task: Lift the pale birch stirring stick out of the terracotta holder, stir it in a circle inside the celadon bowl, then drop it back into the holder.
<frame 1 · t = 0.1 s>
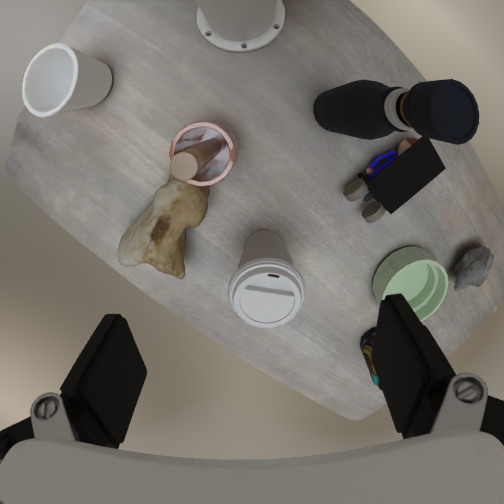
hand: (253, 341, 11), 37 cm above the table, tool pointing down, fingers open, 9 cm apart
stone: (178, 222, 48), on the table
figurine character: (383, 171, 43), on the table
holder: (213, 146, 43), on the table
coffee cup: (265, 248, 49), on the table
cup: (94, 83, 38), on the table
black water bottle: (334, 110, 40), on the table
fossil: (462, 260, 50), on the table
beverage can: (375, 338, 57), on the table
stirring stick: (212, 146, 42), point 1 cm above the table, touching holder
bowl: (403, 277, 51), on the table
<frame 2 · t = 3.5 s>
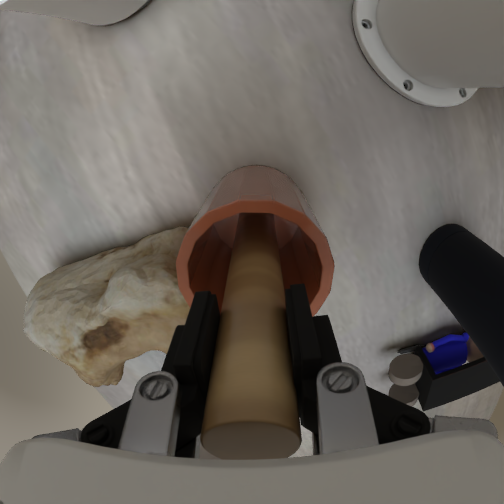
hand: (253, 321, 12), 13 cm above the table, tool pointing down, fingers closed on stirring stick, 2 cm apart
stone: (137, 290, 27), on the table
figurine character: (437, 344, 30), on the table
holder: (256, 213, 24), on the table
black water bottle: (445, 254, 25), on the table
stirring stick: (256, 216, 23), point 1 cm above the table, touching gripper, holder
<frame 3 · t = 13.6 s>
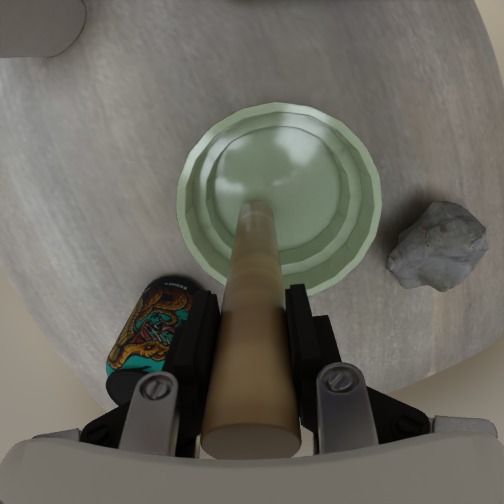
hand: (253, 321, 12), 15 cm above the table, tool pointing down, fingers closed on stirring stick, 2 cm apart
coffee cup: (59, 26, 18), on the table
fossil: (418, 233, 26), on the table
beverage can: (178, 303, 29), on the table
stirring stick: (256, 217, 23), point 2 cm above the table, touching gripper
bowl: (276, 188, 24), on the table
when the fingers open (13 cm above the table, at t = 23.6 s): stirring stick stays where it is, resting on holder.
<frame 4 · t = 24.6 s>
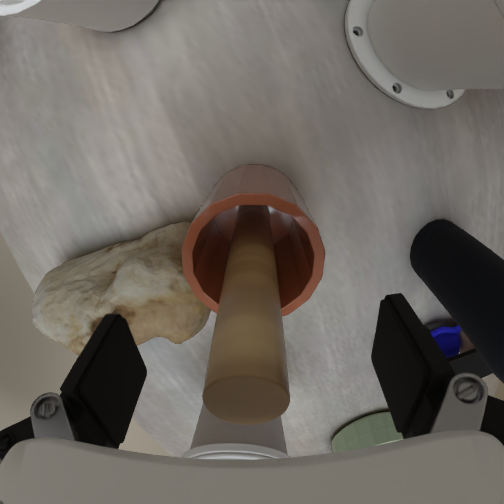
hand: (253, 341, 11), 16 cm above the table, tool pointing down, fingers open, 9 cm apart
stone: (141, 283, 29), on the table
figurine character: (430, 337, 31), on the table
holder: (254, 209, 25), on the table
coffee cup: (243, 365, 33), on the table
black water bottle: (435, 248, 27), on the table
stirring stick: (253, 214, 25), point 1 cm above the table, touching holder
bowl: (370, 431, 40), on the table
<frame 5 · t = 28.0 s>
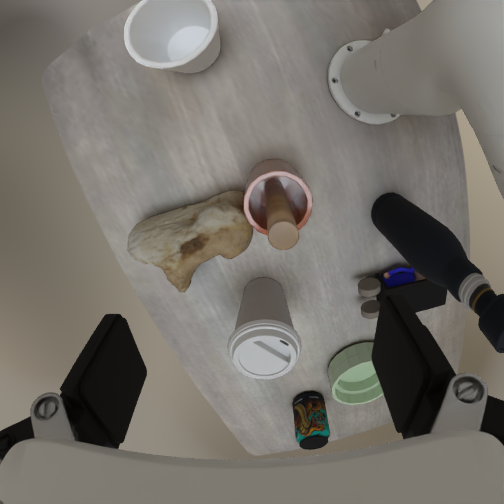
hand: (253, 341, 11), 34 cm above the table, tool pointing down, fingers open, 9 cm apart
stone: (199, 233, 46), on the table
figurine character: (394, 278, 49), on the table
holder: (273, 185, 42), on the table
coffee cup: (263, 293, 50), on the table
cup: (193, 49, 34), on the table
black water bottle: (389, 212, 44), on the table
beverage can: (308, 399, 62), on the table
stirring stick: (273, 187, 42), point 1 cm above the table, touching holder
bowl: (358, 363, 57), on the table
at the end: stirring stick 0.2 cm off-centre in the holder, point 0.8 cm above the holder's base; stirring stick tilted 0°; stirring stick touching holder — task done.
